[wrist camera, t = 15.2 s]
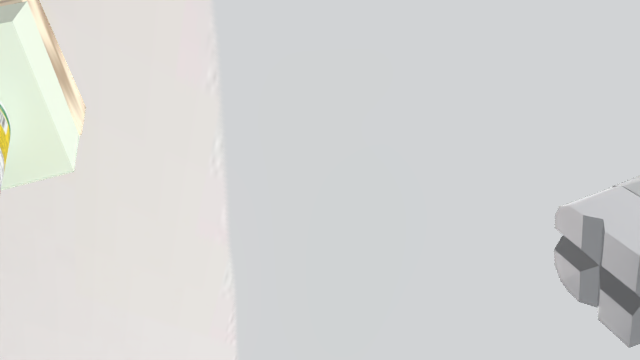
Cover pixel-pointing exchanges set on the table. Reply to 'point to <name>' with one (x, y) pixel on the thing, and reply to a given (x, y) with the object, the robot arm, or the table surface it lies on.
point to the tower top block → (32, 103)
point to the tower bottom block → (56, 62)
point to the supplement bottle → (4, 139)
